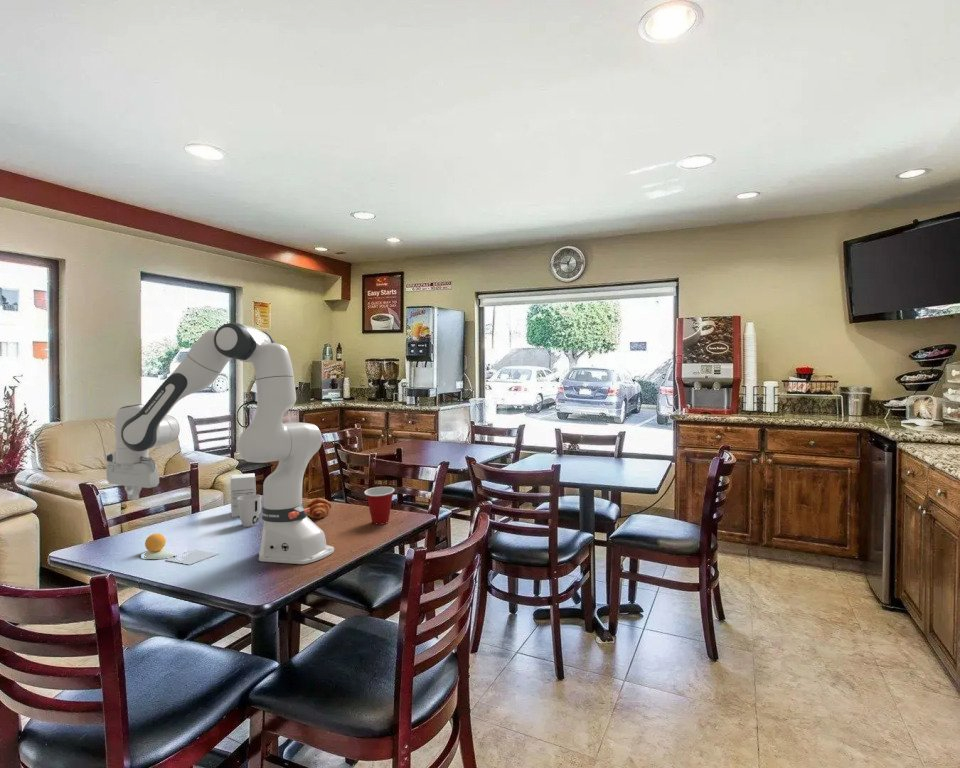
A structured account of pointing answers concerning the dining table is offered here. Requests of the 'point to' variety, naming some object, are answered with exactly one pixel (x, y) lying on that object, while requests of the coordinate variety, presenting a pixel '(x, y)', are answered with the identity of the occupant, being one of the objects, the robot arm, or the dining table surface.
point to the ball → (155, 542)
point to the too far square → (194, 557)
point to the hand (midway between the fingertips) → (133, 499)
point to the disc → (159, 554)
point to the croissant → (317, 508)
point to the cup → (249, 509)
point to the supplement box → (241, 489)
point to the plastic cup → (379, 503)
